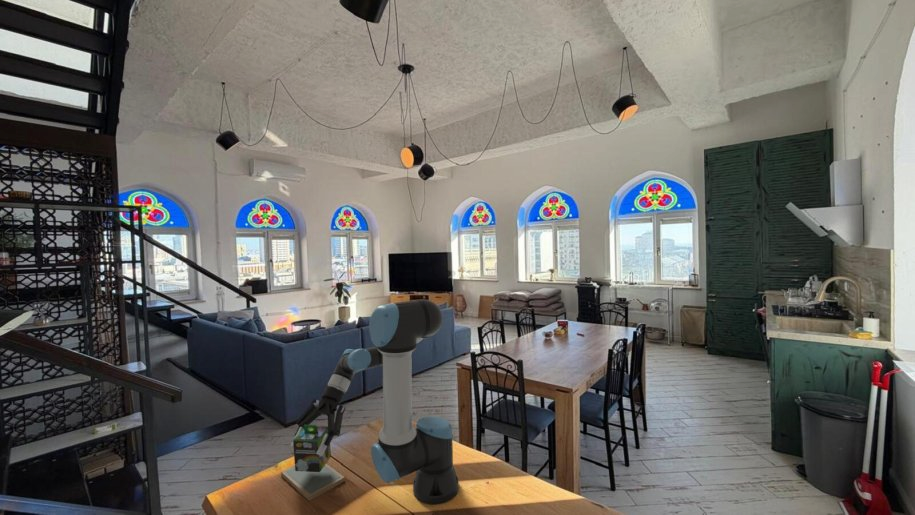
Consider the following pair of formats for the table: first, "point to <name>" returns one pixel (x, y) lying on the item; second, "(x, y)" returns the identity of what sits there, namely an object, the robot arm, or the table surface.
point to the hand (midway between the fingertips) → (306, 451)
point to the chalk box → (310, 449)
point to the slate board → (313, 480)
